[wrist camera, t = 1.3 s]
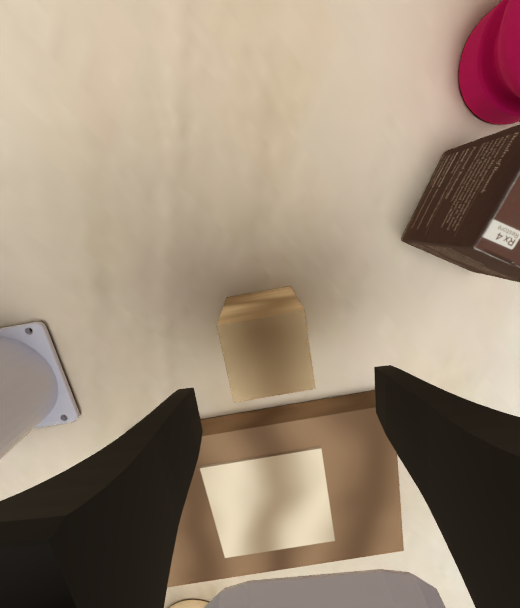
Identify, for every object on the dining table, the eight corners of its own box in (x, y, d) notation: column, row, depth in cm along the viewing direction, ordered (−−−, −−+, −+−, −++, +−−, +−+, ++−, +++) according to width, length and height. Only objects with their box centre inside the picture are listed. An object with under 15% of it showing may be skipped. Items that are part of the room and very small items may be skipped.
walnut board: (173, 561, 27) (166, 589, 25) (128, 431, 23) (116, 452, 21) (392, 526, 27) (404, 553, 24) (381, 389, 23) (394, 405, 21)
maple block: (239, 355, 22) (233, 402, 16) (226, 297, 21) (216, 325, 15) (299, 345, 22) (315, 388, 16) (290, 286, 21) (304, 310, 15)
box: (522, 188, 19) (676, 168, 12) (472, 273, 21) (585, 299, 14) (443, 149, 19) (558, 104, 12) (396, 240, 20) (474, 248, 13)
